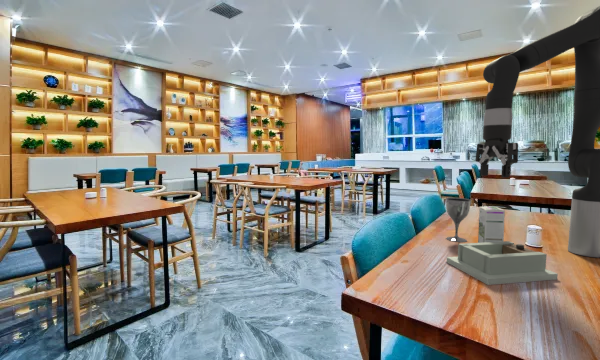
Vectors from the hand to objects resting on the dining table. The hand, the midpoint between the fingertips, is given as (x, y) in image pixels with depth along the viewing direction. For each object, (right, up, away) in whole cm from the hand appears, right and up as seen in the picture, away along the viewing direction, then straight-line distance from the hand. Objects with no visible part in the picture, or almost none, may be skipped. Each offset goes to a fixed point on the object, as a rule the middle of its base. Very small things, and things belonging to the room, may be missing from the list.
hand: (494, 176), depth 100 cm
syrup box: (0, -25, +2) cm, 25 cm away
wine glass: (-4, -23, +17) cm, 29 cm away
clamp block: (-1, -24, -12) cm, 27 cm away
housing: (-7, -26, -13) cm, 30 cm away
